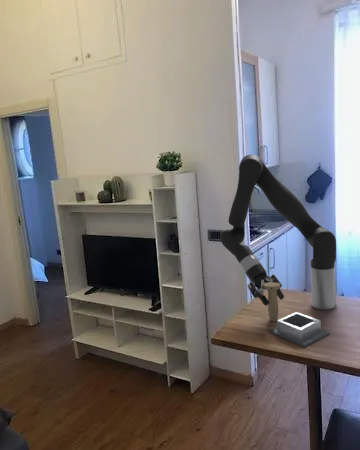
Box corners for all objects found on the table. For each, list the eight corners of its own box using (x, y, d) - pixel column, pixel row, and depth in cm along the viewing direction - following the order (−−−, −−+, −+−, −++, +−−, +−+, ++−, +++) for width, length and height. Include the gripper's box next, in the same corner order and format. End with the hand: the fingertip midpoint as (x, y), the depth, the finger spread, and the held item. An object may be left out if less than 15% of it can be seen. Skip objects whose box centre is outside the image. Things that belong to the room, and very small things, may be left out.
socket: (294, 320, 153) (293, 308, 152) (329, 334, 140) (329, 321, 139) (269, 332, 145) (268, 319, 145) (304, 347, 132) (303, 333, 131)
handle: (281, 323, 152) (279, 286, 149) (264, 322, 154) (263, 286, 151) (282, 318, 156) (280, 282, 154) (266, 317, 158) (264, 282, 156)
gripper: (244, 267, 154) (267, 302, 146) (269, 259, 161) (292, 292, 154) (236, 277, 159) (257, 311, 151) (260, 269, 167) (282, 301, 159)
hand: (275, 301), depth 153 cm, fingers open, 8 cm apart
